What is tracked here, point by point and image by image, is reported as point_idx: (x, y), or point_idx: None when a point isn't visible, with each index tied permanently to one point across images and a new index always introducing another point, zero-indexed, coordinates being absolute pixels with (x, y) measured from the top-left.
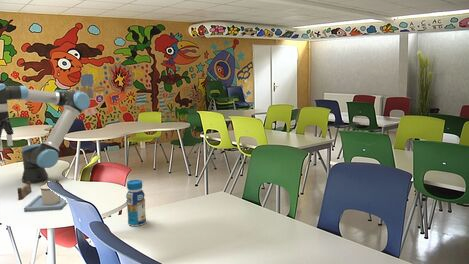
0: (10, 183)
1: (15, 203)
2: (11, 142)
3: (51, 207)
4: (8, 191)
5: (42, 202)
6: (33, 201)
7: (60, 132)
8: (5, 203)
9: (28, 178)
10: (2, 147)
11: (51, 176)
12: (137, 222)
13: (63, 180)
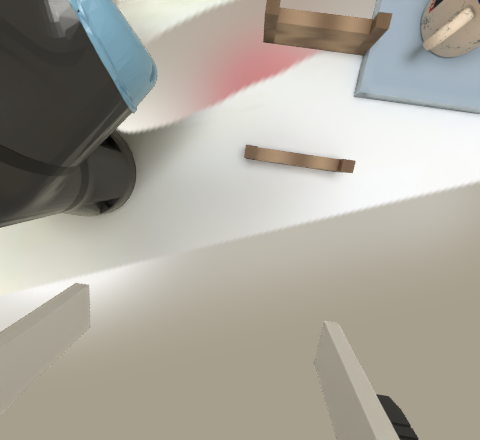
0: (119, 248)
1: (374, 172)
2: (59, 313)
3: None
4: (217, 231)
5: (465, 53)
6: (439, 94)
7: None
8: (359, 206)
9: (122, 184)
10: (337, 345)
11: None
12: None
13: None
